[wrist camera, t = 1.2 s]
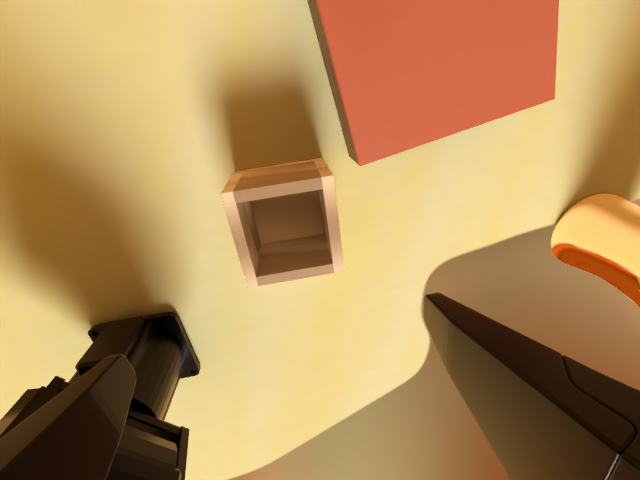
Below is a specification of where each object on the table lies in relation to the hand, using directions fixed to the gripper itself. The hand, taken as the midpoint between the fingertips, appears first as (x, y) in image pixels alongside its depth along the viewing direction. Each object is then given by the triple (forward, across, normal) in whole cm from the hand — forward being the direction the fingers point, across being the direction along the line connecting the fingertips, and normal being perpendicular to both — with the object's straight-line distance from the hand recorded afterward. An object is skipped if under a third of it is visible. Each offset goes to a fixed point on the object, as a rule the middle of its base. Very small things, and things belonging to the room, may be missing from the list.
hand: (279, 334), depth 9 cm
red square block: (+13, -9, -8) cm, 18 cm away
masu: (+13, 0, 0) cm, 13 cm away
